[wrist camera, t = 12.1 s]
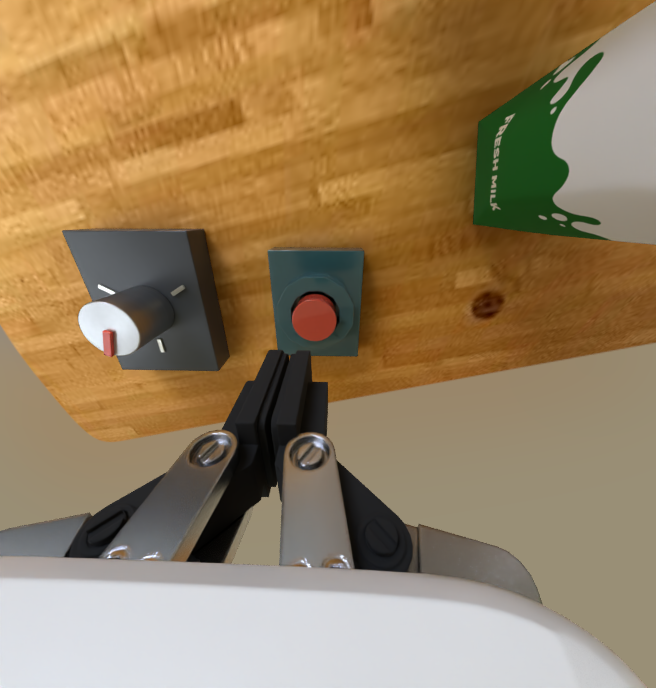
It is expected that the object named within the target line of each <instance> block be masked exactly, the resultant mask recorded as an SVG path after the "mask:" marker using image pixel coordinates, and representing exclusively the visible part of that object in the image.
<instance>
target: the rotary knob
mask: <svg viewBox="0 0 656 688" xmlns="http://www.w3.org/2000/svg"><path fill="white" fill-rule="evenodd" d="M173 321H174V312H173V308H172V306H171V304H170V303H169V301H168V300H167V299H166V297H165V296H163V295H162V294H161V293H160V292H158V291H157V290H155V289H153V288H150V287H147V286H135V287H132V288H129V289H126V290H123V291H120V292H117V293H115V294H112V295H109V296H106V297H103V298H101V299H98V300H95V301H92V302H89V303H87V304H85V305H84V306H83V307H82V308H81V310H80V311H79V315H78V322H79V326H80V329H81V331H82V332H83V334H84V335H85V337H86V338H87V339H88V340H89V341H90V342H91V343H92V344H93V345H94V346H96V347H97V348H99V349H100V350H102V351H104V355H106V356H110V357H112V356H114V355H118V356H124V355H129V354H132V353H134V352H135V351H137V350H138V349H140V348H141V347H143V346H144V345H146V344H147V343H148V342H150V341H151V340H153V339H154V338H156V337H157V336H159V335H160V334H162V333H163V332H165V331H166V330H168V329H169V328H170V327H171V326H172V324H173Z"/></svg>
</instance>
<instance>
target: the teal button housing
mask: <svg viewBox="0 0 656 688" xmlns="http://www.w3.org/2000/svg"><path fill="white" fill-rule="evenodd" d="M268 259H269V269H270V279H271V289H272V298H273V308H274V318H275V328H276V338H277V348H278V350H283V351H284V354H288V355H291V354H296V351H297V350H310V351H311V356H358V343H359V327H360V311H361V295H362V279H363V264H364V250H363V249H362V248H292V247H274V248H272V249H270V250H268ZM309 294H321V295H324V296H326V297H327V298H329V299H330V300H331V301H332V302H333V304H334V306H335V308H336V313H337V322H336V327H335V330H334V331H333V333H332V334H331V335H330V336H329V337H327V338H326V339H323V340H320V341H310V340H306V339H304V338H302V337H301V336H300V335H299V334H298V333H297V332H296V331H295V329H294V327H293V324H292V315H293V312H294V310H295V307H296V305H297V303H298V302H299V301H300V299H302V298H303V297H304V296H306V295H309Z"/></svg>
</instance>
